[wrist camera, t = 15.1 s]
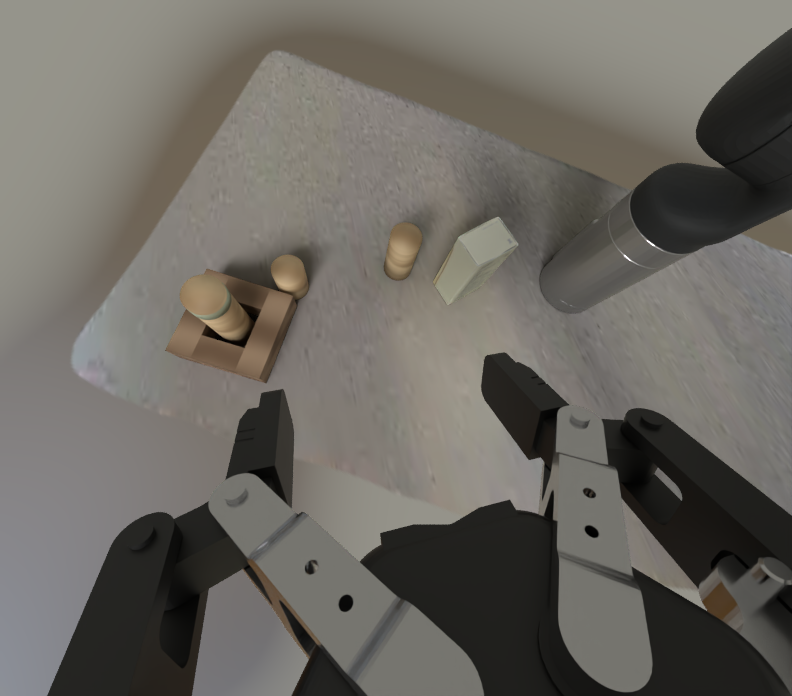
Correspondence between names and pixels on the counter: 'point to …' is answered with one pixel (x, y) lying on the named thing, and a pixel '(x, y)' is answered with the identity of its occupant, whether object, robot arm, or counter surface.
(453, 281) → the skincare box
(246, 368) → the socket block
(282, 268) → the short pin
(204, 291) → the tall pin
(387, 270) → the medium pin
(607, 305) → the counter surface
